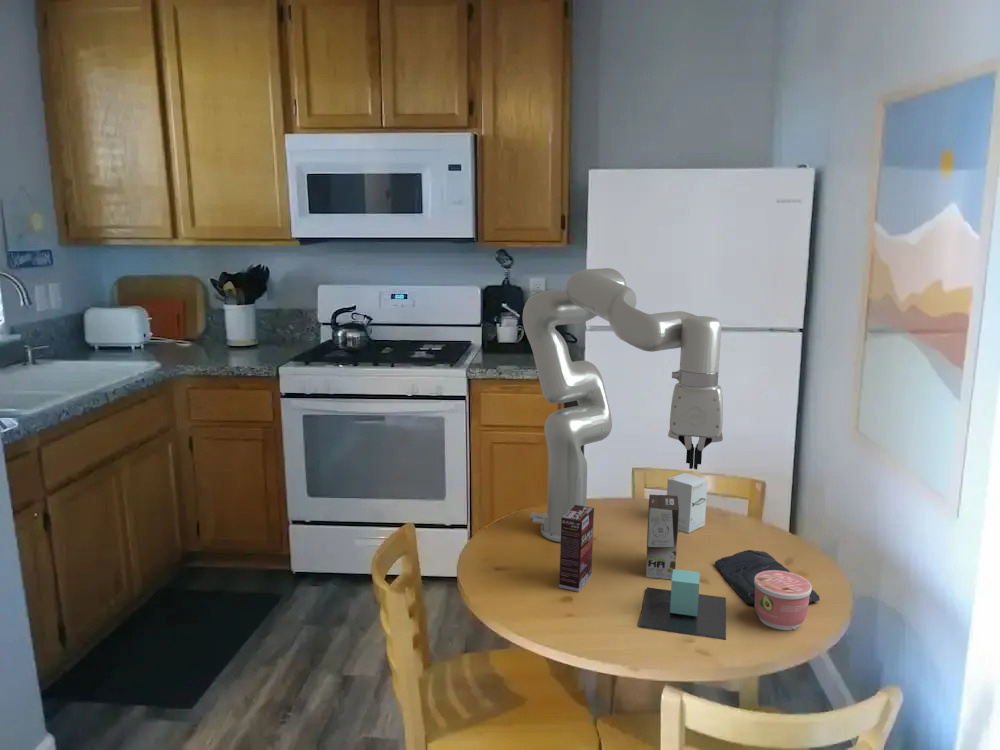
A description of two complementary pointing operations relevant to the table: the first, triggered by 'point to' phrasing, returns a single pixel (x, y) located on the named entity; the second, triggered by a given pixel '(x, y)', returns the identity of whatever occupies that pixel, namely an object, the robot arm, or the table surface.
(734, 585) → the dark fabric pouch
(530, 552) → the table surface
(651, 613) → the brushed steel sheet
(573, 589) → the supplement box
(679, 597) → the teal rectangular block
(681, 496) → the supplement box
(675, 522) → the coffee box
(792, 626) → the container
